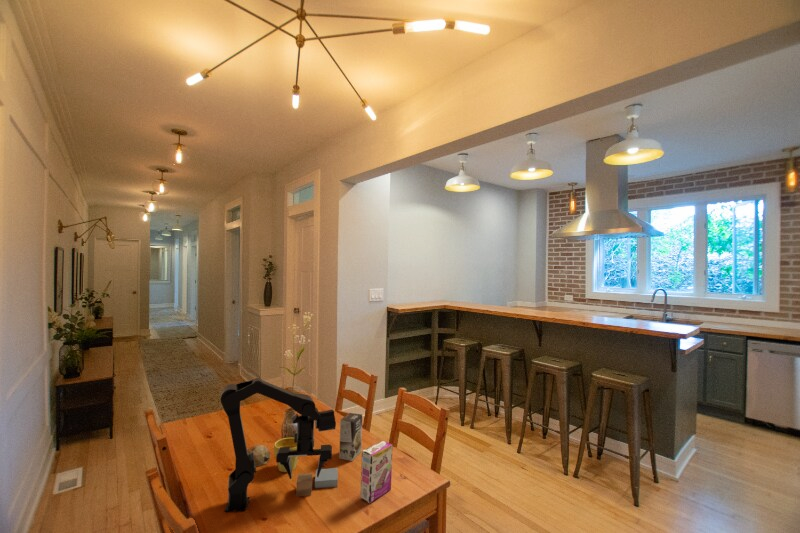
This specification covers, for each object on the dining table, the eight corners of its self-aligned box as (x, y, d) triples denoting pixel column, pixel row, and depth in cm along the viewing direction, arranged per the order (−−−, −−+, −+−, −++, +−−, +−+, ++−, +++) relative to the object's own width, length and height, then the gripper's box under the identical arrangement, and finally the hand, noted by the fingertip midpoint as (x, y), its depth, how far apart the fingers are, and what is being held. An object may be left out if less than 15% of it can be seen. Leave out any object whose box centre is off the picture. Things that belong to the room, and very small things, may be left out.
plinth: (337, 486, 134) (337, 479, 134) (314, 488, 132) (314, 481, 132) (337, 474, 142) (337, 467, 142) (316, 476, 140) (316, 469, 140)
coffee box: (352, 461, 152) (353, 422, 152) (338, 458, 154) (339, 419, 154) (362, 451, 160) (362, 414, 160) (348, 449, 162) (349, 412, 162)
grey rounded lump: (256, 477, 145) (264, 460, 144) (235, 463, 147) (243, 446, 146) (269, 464, 155) (277, 448, 154) (250, 451, 157) (257, 435, 156)
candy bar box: (370, 504, 124) (371, 455, 124) (359, 498, 127) (360, 450, 127) (392, 490, 132) (393, 443, 133) (381, 484, 135) (382, 439, 136)
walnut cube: (311, 495, 128) (311, 481, 128) (296, 496, 128) (296, 482, 128) (312, 487, 133) (312, 473, 133) (297, 488, 132) (298, 474, 133)
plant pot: (299, 459, 153) (300, 435, 153) (302, 472, 143) (302, 446, 143) (273, 463, 149) (273, 439, 149) (274, 477, 139) (274, 450, 139)
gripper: (332, 422, 140) (331, 464, 140) (281, 424, 137) (280, 467, 137) (332, 435, 129) (331, 480, 129) (276, 438, 126) (275, 484, 126)
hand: (304, 477), depth 130 cm, fingers open, 9 cm apart
